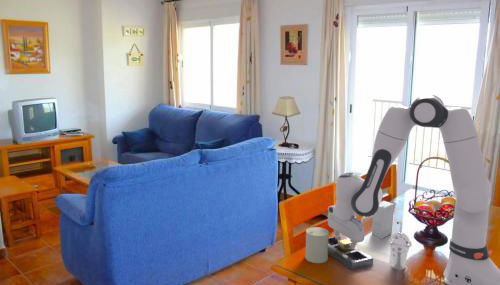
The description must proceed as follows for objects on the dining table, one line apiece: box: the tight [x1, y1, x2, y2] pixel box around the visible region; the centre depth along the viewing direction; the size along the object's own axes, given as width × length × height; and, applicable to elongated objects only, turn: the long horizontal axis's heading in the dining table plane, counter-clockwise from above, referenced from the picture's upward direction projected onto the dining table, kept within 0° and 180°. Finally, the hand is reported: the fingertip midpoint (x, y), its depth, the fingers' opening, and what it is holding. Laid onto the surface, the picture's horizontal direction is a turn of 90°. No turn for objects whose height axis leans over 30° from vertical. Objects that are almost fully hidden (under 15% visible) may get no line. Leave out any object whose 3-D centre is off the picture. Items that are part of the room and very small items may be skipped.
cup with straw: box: [388, 220, 413, 270], centre depth 166 cm, size 8×9×20 cm
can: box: [304, 226, 330, 264], centre depth 175 cm, size 9×9×12 cm
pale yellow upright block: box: [338, 238, 351, 253], centre depth 178 cm, size 4×4×6 cm
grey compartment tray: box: [328, 235, 374, 271], centre depth 178 cm, size 24×10×3 cm, turn 24°
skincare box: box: [371, 200, 395, 239], centre depth 198 cm, size 8×6×15 cm
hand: (344, 244), depth 178 cm, fingers open, 8 cm apart
